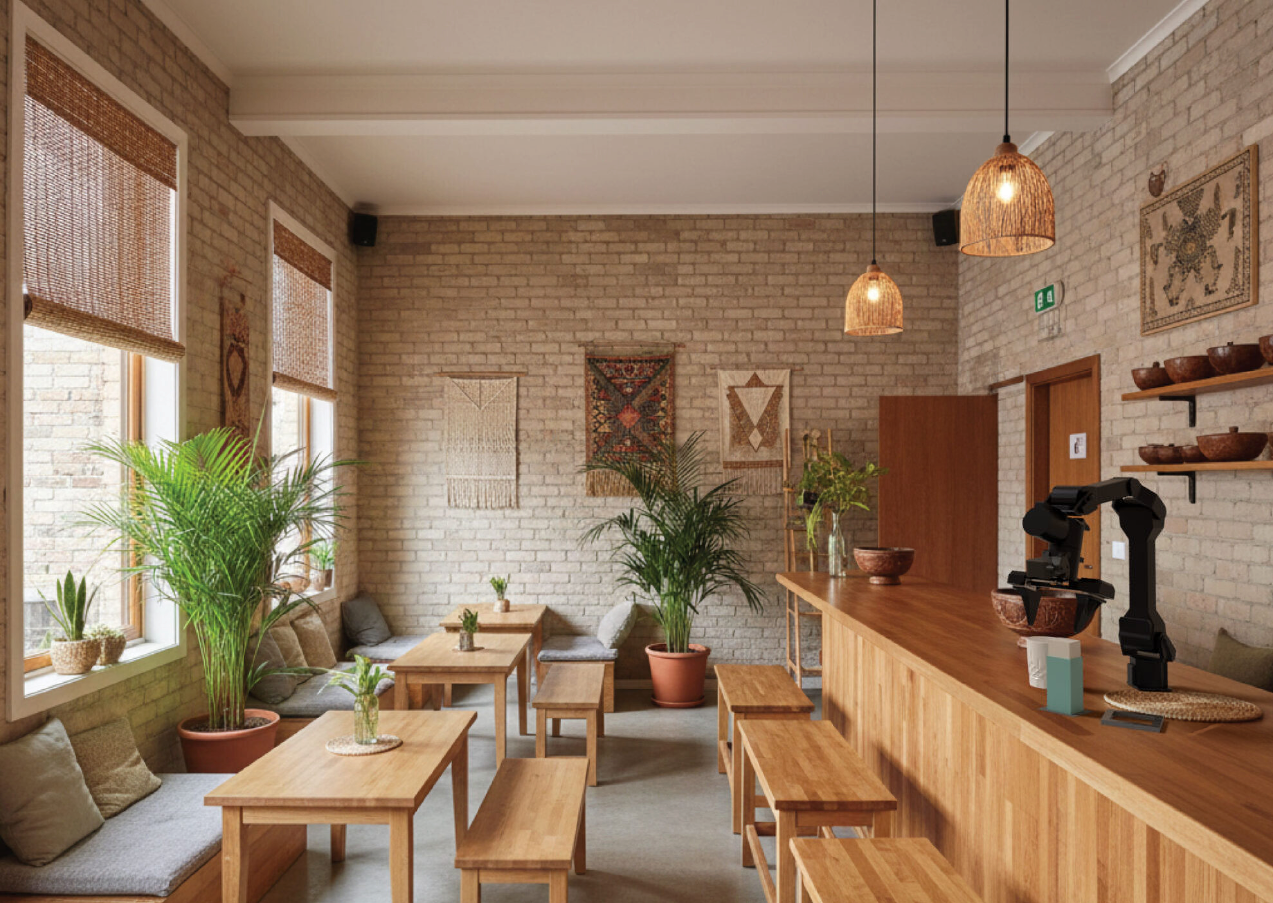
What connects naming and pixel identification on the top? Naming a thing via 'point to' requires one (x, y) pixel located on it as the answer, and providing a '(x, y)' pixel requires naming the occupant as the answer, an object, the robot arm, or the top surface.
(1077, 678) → the peg
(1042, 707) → the pad
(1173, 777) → the top surface
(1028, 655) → the white cup
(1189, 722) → the top surface
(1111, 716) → the socket
